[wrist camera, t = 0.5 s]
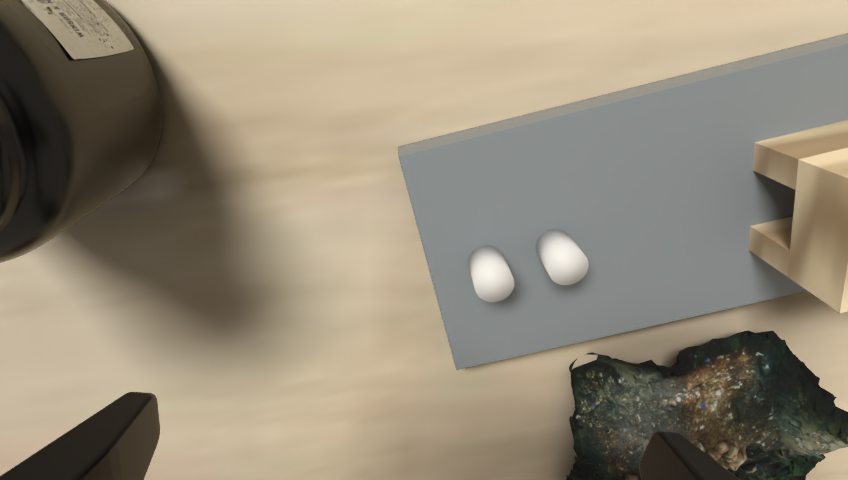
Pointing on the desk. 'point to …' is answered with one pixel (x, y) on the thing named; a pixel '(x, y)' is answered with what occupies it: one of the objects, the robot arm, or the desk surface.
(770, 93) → the pin plate
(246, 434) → the desk surface
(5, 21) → the ink bottle
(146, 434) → the robot arm
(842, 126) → the block
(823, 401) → the decorative rock
